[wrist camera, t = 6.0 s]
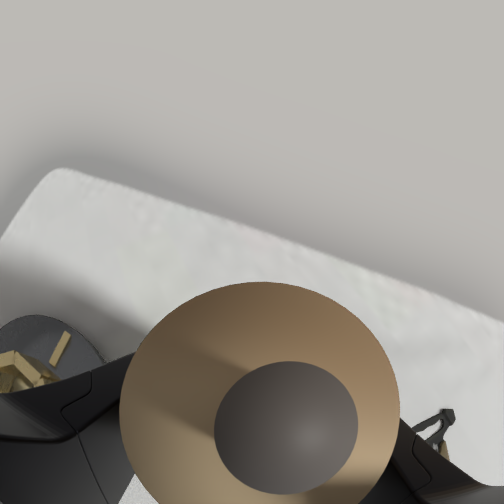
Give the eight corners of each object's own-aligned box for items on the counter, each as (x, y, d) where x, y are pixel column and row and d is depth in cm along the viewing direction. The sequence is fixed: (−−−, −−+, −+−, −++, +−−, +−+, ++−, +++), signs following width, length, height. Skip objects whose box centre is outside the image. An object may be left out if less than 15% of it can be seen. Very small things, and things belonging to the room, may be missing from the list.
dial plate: (87, 533, 11) (64, 548, 8) (-33, 418, 14) (-60, 413, 10) (159, 382, 19) (142, 377, 15) (23, 288, 21) (-1, 269, 18)
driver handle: (267, 460, 12) (385, 616, 1) (186, 427, 13) (2, 480, 1) (301, 385, 14) (499, 290, 3) (222, 353, 15) (180, 159, 3)
